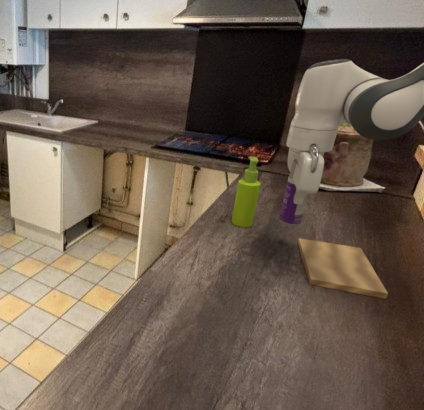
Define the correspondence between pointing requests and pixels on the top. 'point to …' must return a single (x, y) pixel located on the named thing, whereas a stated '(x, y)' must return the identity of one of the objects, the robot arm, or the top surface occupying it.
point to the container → (291, 203)
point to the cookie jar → (348, 163)
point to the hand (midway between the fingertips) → (295, 198)
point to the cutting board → (340, 268)
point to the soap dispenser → (246, 196)
